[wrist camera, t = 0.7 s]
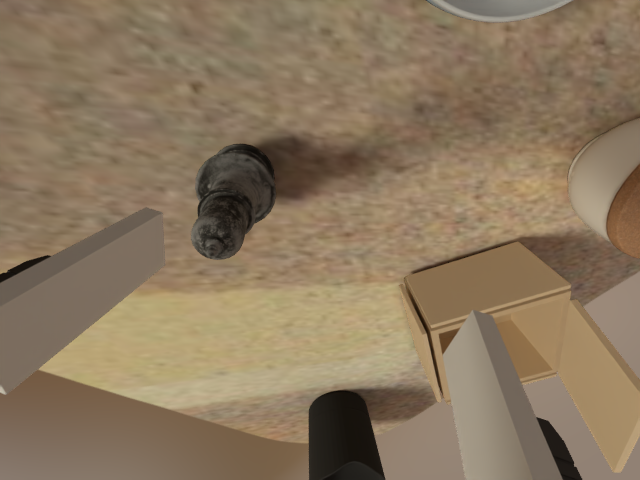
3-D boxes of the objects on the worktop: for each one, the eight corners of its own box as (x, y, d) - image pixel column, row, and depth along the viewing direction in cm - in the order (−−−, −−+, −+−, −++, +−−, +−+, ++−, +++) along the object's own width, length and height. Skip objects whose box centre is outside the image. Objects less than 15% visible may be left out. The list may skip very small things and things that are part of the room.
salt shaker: (292, 179, 26) (292, 259, 16) (243, 219, 27) (215, 314, 17) (241, 124, 23) (202, 177, 13) (191, 171, 25) (121, 251, 15)
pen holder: (332, 429, 49) (341, 508, 40) (293, 408, 44) (293, 491, 36) (379, 405, 46) (400, 484, 37) (342, 379, 42) (355, 462, 33)
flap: (569, 300, 25) (646, 402, 18) (576, 299, 25) (657, 401, 18) (558, 373, 31) (613, 472, 24) (563, 373, 31) (620, 472, 24)
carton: (395, 274, 32) (420, 328, 26) (518, 236, 31) (577, 282, 25) (415, 350, 39) (439, 406, 33) (516, 321, 38) (561, 374, 32)
